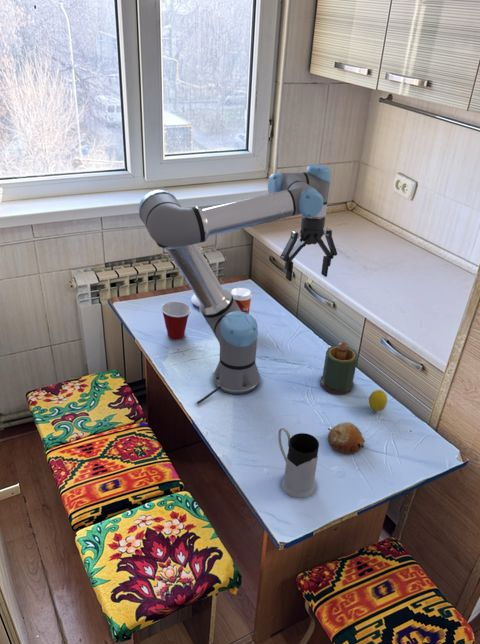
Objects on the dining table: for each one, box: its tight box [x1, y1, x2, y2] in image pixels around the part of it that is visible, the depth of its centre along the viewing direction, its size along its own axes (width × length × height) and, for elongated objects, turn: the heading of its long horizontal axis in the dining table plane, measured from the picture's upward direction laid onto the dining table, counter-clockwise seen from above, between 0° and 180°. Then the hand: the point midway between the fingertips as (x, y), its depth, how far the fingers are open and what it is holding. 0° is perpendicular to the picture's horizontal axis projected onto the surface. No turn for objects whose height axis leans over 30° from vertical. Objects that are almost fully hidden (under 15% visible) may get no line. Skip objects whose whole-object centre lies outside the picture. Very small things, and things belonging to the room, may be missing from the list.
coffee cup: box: [230, 287, 253, 315], centre depth 212 cm, size 8×8×15 cm
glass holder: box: [277, 427, 320, 499], centre depth 147 cm, size 9×14×15 cm, turn 36°
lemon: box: [368, 389, 388, 412], centre depth 176 cm, size 6×6×8 cm
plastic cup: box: [160, 300, 192, 341], centre depth 204 cm, size 11×11×12 cm
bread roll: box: [327, 421, 366, 455], centre depth 163 cm, size 10×10×8 cm
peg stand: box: [319, 341, 354, 396], centre depth 184 cm, size 11×11×17 cm
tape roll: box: [321, 344, 359, 390], centre depth 185 cm, size 10×10×11 cm
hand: (306, 277), depth 189 cm, fingers open, 13 cm apart
